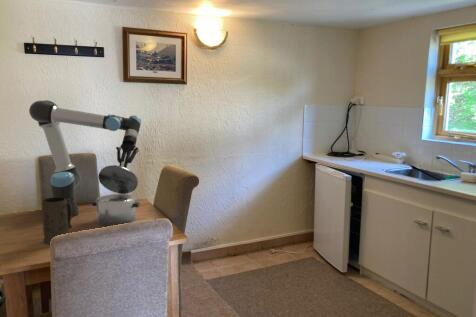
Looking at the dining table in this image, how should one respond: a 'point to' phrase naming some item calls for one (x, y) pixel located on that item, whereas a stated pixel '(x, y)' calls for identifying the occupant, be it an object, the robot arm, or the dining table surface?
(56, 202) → the beer stein
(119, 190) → the cooker lid
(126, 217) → the cooker pot
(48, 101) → the robot arm
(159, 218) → the dining table surface
